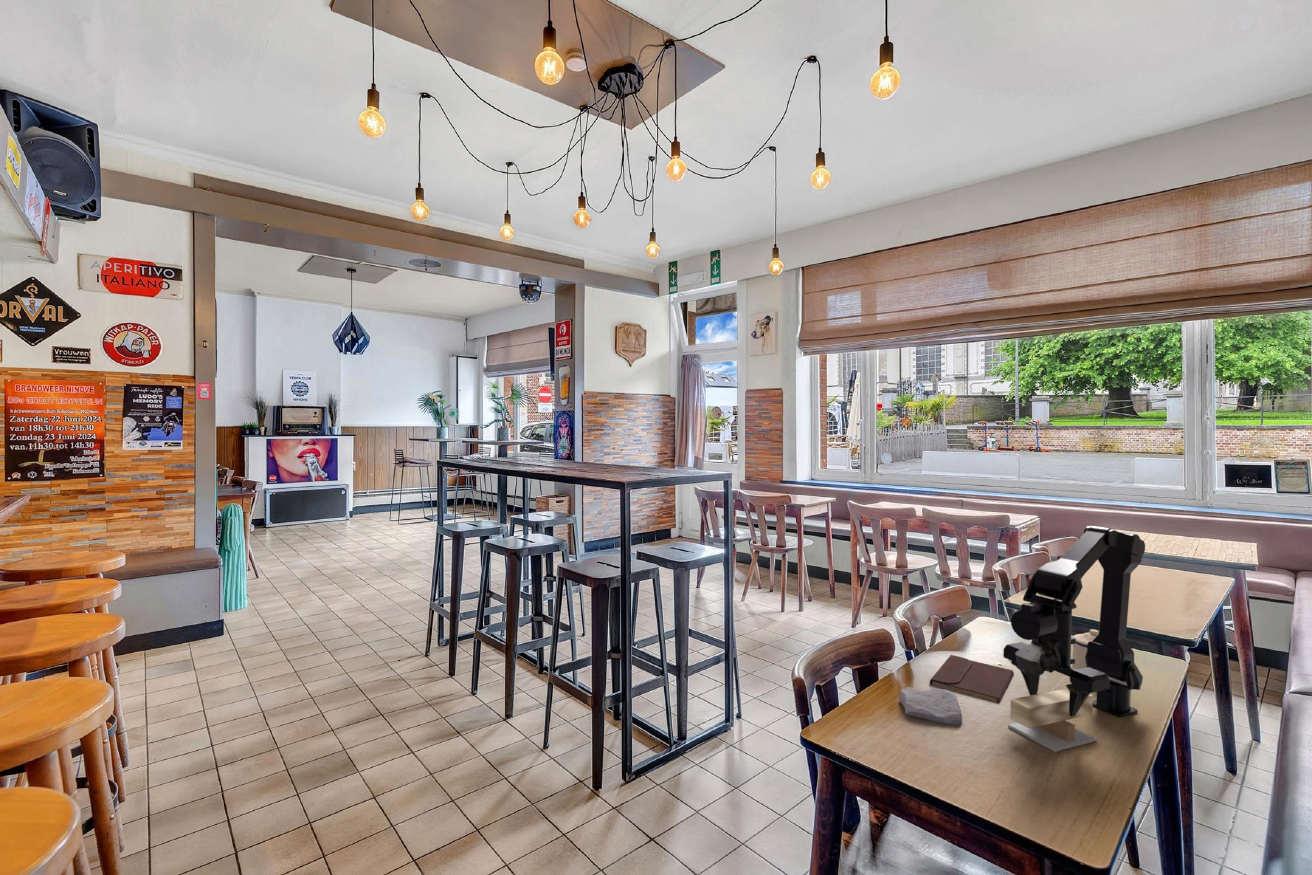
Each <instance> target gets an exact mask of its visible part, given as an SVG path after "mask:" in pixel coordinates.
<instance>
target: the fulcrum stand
mask: <svg viewBox="0 0 1312 875" xmlns="http://www.w3.org/2000/svg"><path fill="white" fill-rule="evenodd" d="M1007 727H1008V728H1009V729H1010V730H1012V731H1015V733H1016V732H1017V733H1018V734H1020V735H1022V736H1024V737H1025V738H1027V739H1029V740H1031V741H1033V742H1035V743H1037V744H1039V745H1041V746H1043V747H1045V748H1046V749H1048V750H1051V751H1052V752H1054V753H1056V752H1061V751H1064V750H1067V749H1071V748H1075V747H1078V746H1083V745H1086V744H1089V743H1093V742H1097V737H1096V736H1094V735H1092V734H1090V733H1088V732H1085V731H1083V730H1081V729H1080V728H1079V729H1078V728H1077V727H1076V725H1075V724H1073V723H1072V722H1070V721H1068V720H1064V721H1060V722H1055V723H1051V724H1046V725H1041V726H1037V727H1032V728H1027V727H1025V726H1023V725H1021V724H1019V723H1017V722H1012V723H1009V724H1007Z"/></svg>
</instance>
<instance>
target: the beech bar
mask: <svg viewBox="0 0 1312 875" xmlns="http://www.w3.org/2000/svg"><path fill="white" fill-rule="evenodd" d="M1069 696H1070V692H1069V690H1068V688H1067V687H1066V688H1062V689H1056V690H1051V691H1047V692H1042V693H1037V694H1036V695H1031V696H1030V695H1027V696H1021V697H1015V698H1011V699H1010V714H1009V715H1010V717H1009V718H1010V720H1012V721H1014V723H1016V722H1017V723H1019V724H1021V725H1023V726H1025V727H1027V728H1032V727H1037V726H1041V725H1046V724H1051V723H1055V722H1060V721H1064V720H1065V721H1068V720H1072V719H1073V720H1074V719H1077V718H1082V717H1086V716H1092V715H1093V713H1094V712H1093V711H1094V710H1093V709H1094V706H1093V701H1094V694H1091V693H1090V694H1089V696H1088V697H1087V698H1086V699H1085V701H1084V703H1083V704H1082V706H1081V707H1080V709H1079V710H1078V712H1077V714H1076V715H1075V716H1073V717H1071V716H1070V714H1069Z"/></svg>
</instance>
